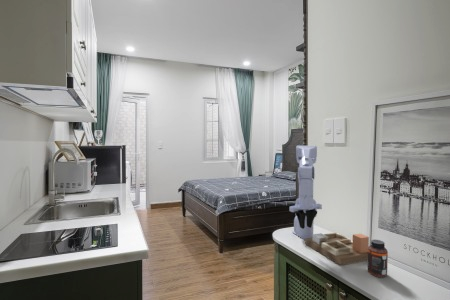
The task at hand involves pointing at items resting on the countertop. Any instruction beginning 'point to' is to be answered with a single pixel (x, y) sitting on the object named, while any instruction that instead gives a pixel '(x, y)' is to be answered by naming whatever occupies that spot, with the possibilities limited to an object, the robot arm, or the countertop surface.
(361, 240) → the terracotta rectangular block
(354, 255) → the wooden compartment tray
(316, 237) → the block
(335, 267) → the countertop surface
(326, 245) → the collar
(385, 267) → the supplement bottle
